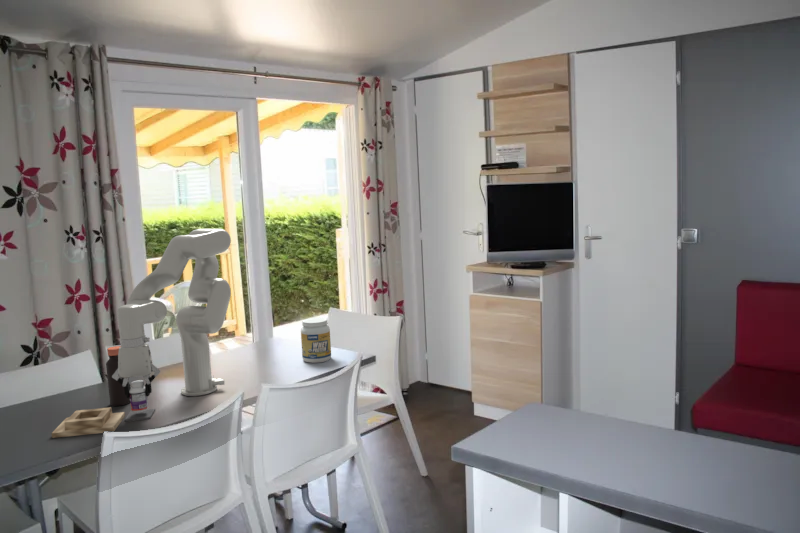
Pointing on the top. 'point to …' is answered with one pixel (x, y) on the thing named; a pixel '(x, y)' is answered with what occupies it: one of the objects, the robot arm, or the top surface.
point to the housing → (89, 422)
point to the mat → (140, 415)
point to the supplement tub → (315, 340)
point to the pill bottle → (138, 397)
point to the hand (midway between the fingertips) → (138, 395)
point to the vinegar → (114, 386)
